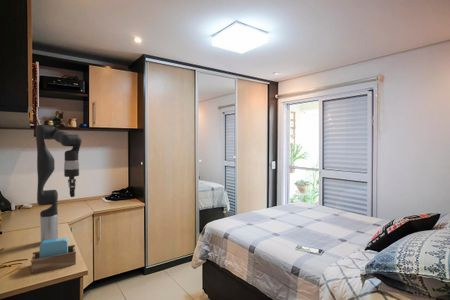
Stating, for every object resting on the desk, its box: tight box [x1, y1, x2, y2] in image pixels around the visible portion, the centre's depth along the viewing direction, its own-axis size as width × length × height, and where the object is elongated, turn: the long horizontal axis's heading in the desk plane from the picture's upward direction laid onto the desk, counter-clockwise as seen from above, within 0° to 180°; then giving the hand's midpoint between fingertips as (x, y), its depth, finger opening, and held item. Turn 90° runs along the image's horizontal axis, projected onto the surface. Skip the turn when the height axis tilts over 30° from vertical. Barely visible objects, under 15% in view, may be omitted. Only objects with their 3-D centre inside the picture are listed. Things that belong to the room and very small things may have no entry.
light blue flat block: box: [39, 237, 69, 258], centre depth 137 cm, size 12×4×12 cm, turn 117°
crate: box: [30, 244, 77, 274], centre depth 137 cm, size 12×19×6 cm, turn 122°
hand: (72, 195), depth 156 cm, fingers open, 8 cm apart
